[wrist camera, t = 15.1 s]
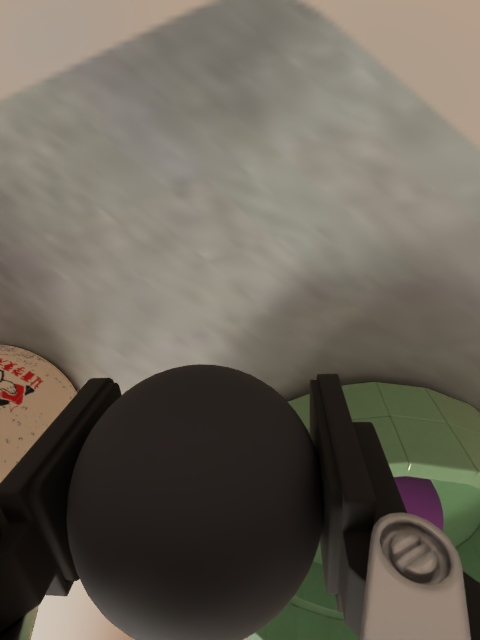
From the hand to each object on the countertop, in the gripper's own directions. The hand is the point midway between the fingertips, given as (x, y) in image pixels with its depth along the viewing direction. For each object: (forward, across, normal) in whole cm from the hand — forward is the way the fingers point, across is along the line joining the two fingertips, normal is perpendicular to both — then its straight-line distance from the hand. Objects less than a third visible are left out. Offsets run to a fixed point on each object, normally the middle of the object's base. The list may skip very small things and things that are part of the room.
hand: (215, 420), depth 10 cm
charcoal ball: (+1, 0, 0) cm, 1 cm away
